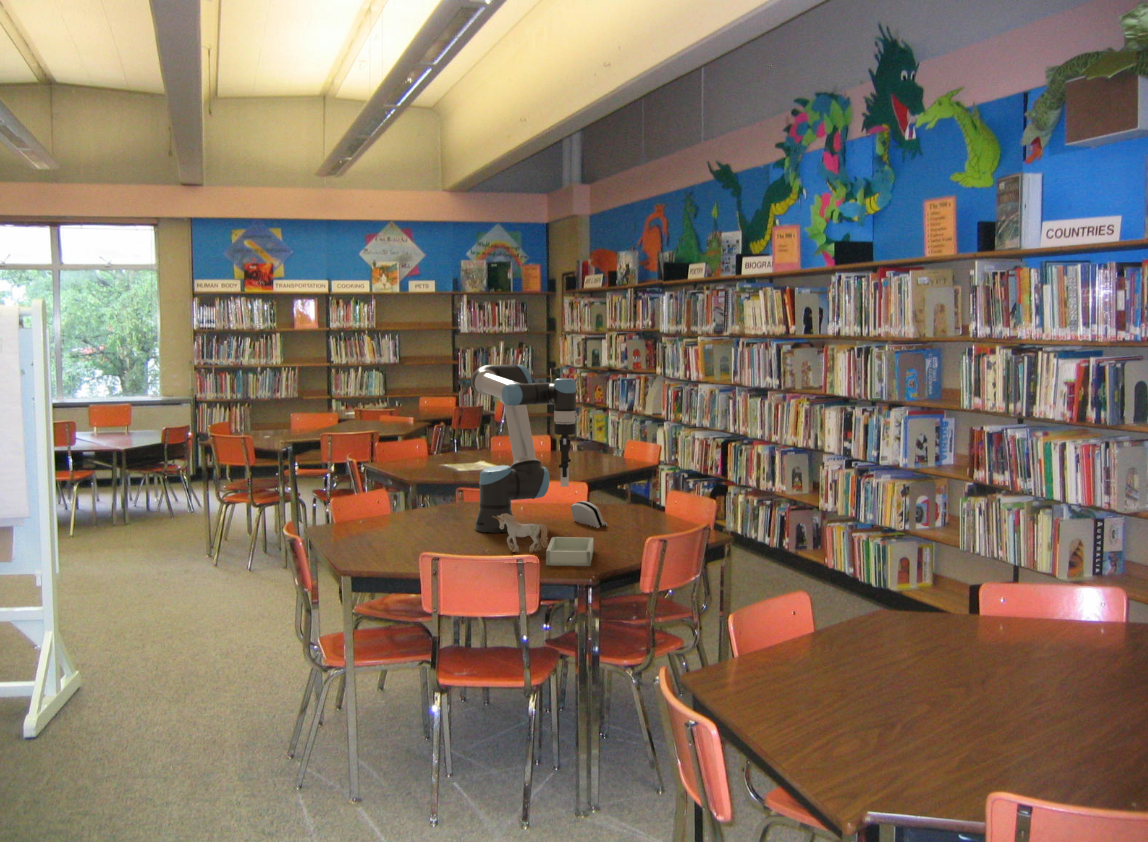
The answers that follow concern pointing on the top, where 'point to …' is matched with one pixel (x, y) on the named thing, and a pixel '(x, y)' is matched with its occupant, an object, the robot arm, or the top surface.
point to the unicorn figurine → (523, 532)
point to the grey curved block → (587, 514)
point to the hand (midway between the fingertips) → (564, 483)
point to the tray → (569, 551)
